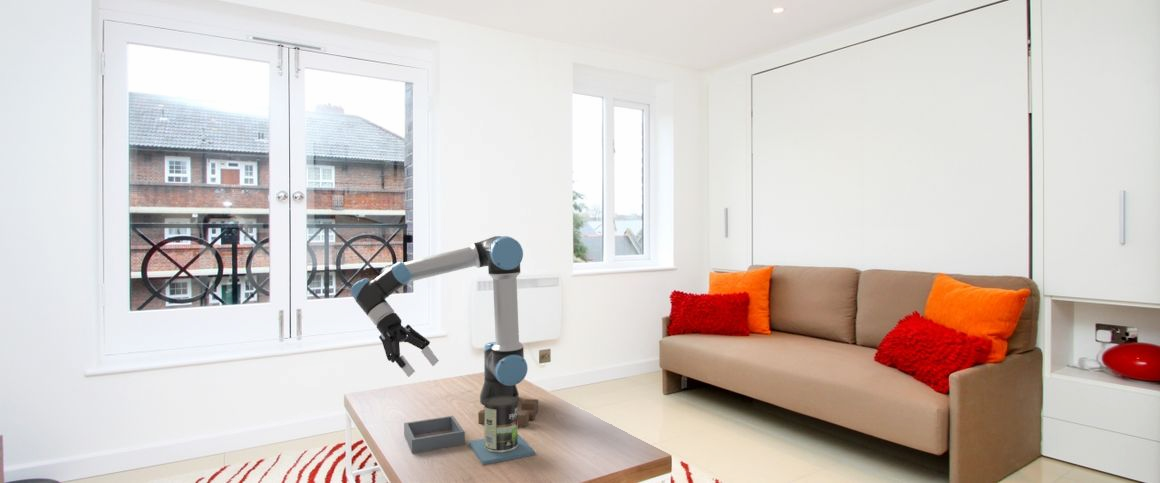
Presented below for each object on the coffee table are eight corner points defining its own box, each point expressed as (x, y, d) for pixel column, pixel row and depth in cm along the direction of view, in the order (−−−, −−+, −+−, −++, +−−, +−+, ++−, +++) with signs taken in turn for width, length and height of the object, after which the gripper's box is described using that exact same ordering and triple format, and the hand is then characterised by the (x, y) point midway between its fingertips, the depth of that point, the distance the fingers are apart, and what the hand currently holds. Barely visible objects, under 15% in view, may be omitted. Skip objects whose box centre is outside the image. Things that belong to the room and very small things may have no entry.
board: (517, 436, 177) (517, 433, 177) (535, 454, 162) (535, 451, 162) (468, 444, 170) (468, 441, 170) (482, 464, 155) (482, 461, 155)
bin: (453, 427, 185) (453, 415, 184) (464, 444, 170) (464, 431, 170) (404, 435, 178) (404, 422, 177) (411, 453, 163) (411, 440, 163)
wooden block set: (527, 412, 184) (477, 409, 188) (527, 429, 184) (477, 425, 188) (541, 397, 201) (494, 394, 204) (541, 412, 201) (494, 409, 205)
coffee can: (522, 440, 170) (522, 396, 170) (511, 454, 160) (511, 407, 160) (491, 438, 172) (491, 394, 172) (478, 451, 162) (478, 404, 162)
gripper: (401, 320, 193) (438, 366, 189) (352, 333, 169) (393, 386, 165) (414, 306, 191) (451, 352, 187) (366, 318, 167) (408, 371, 163)
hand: (424, 368), depth 176 cm, fingers open, 13 cm apart
